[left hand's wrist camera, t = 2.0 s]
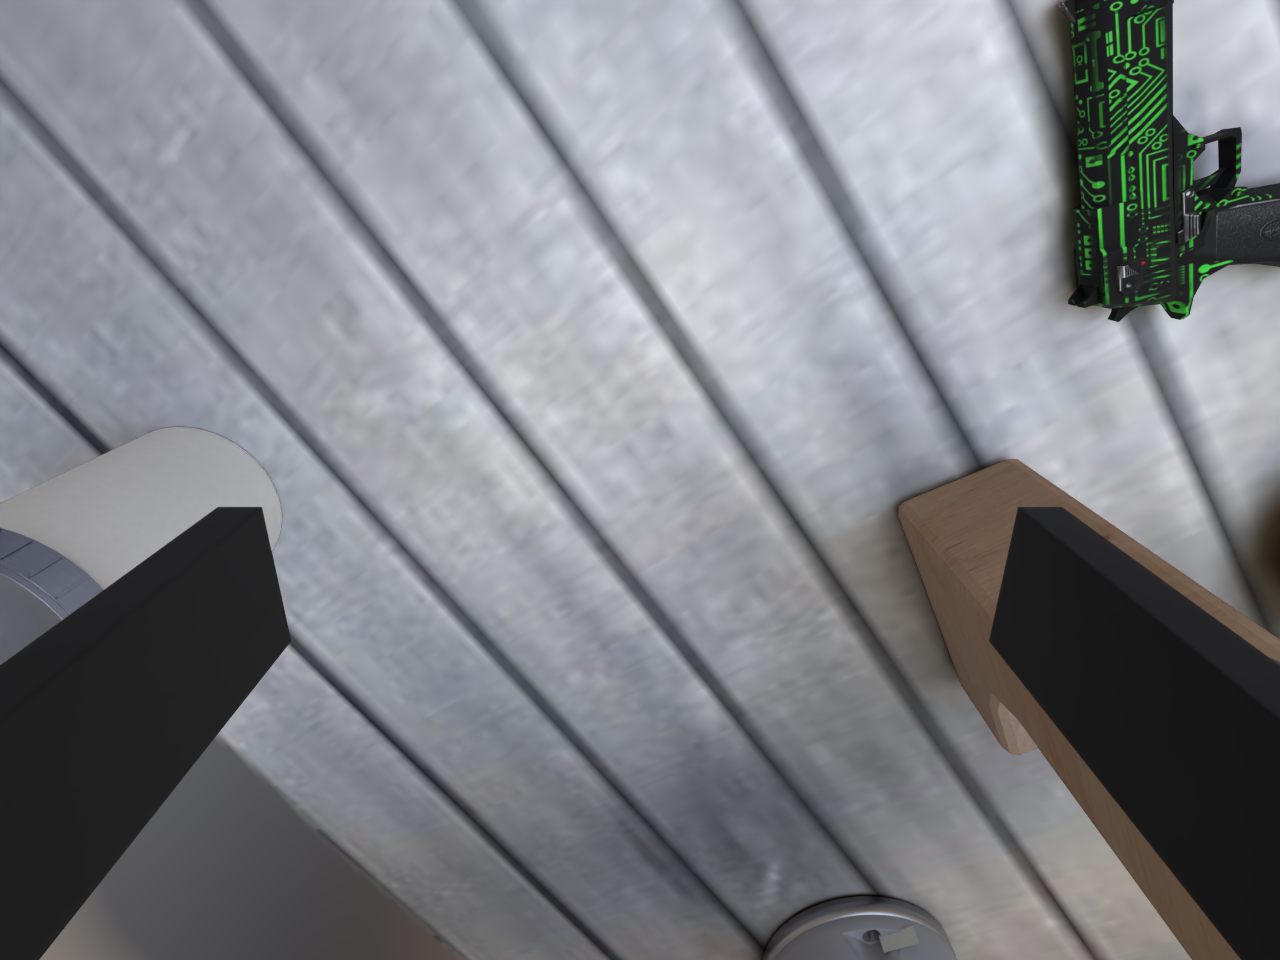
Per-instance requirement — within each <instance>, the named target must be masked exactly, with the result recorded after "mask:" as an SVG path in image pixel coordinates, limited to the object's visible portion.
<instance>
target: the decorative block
mask: <svg viewBox="0 0 1280 960" xmlns="http://www.w3.org/2000/svg"><path fill="white" fill-rule="evenodd" d="M1018 507H1063V508H1064V509H1066V510H1067V511H1068V512H1070V513H1071V514H1073V515H1074V516H1075V517H1077V518H1078V519H1079V520H1081V521H1082V522H1084V523H1085V524H1086V525H1088V526H1089V527H1090V528H1092V529H1093V530H1095V531H1096V532H1097V533H1099V534H1100V535H1101V536H1103V537H1104V538H1106V539H1107V540H1108V541H1110V542H1111V543H1112V544H1114V545H1115V546H1117V547H1118V548H1119V549H1121V550H1122V551H1123V552H1125V553H1126V554H1128V555H1129V556H1130V557H1132V558H1133V559H1134V560H1136V561H1137V562H1139V563H1140V564H1141V565H1143V566H1144V567H1145V568H1147V569H1148V570H1150V571H1151V572H1152V573H1154V574H1155V575H1156V576H1158V577H1159V578H1161V579H1162V580H1163V581H1165V582H1166V583H1167V584H1169V585H1170V586H1172V587H1173V588H1174V589H1176V590H1177V591H1178V592H1180V593H1181V594H1183V595H1184V596H1185V597H1187V598H1188V599H1189V600H1191V601H1192V602H1194V603H1195V604H1196V605H1198V606H1199V607H1200V608H1202V609H1203V610H1205V611H1206V612H1207V613H1209V614H1210V615H1211V616H1213V617H1214V618H1216V619H1217V620H1218V621H1220V622H1221V623H1222V624H1224V625H1225V626H1227V627H1228V628H1229V629H1231V630H1232V631H1233V632H1235V633H1236V634H1238V635H1239V636H1240V637H1242V638H1243V639H1244V640H1246V641H1247V642H1249V643H1250V644H1251V645H1253V646H1254V647H1255V648H1257V649H1258V650H1260V651H1261V652H1262V653H1264V654H1265V655H1266V656H1268V657H1269V658H1273V659H1275V660H1277V661H1279V662H1280V640H1279V639H1278V638H1276V637H1275V636H1273V635H1272V634H1271V633H1269V632H1268V631H1266V630H1265V629H1263V628H1262V627H1260V626H1259V625H1257V624H1256V623H1255V622H1253V621H1252V620H1250V619H1249V618H1247V617H1246V616H1244V615H1243V614H1241V613H1240V612H1239V611H1237V610H1236V609H1234V608H1233V607H1231V606H1230V605H1228V604H1227V603H1225V602H1224V601H1223V600H1221V599H1220V598H1218V597H1217V596H1215V595H1214V594H1212V593H1211V592H1209V591H1208V590H1207V589H1205V588H1204V587H1202V586H1201V585H1199V584H1198V583H1196V582H1195V581H1193V580H1192V579H1191V578H1189V577H1188V576H1186V575H1185V574H1183V573H1182V572H1180V571H1179V570H1177V569H1176V568H1175V567H1173V566H1172V565H1170V564H1169V563H1167V562H1166V561H1164V560H1163V559H1161V558H1160V557H1159V556H1157V555H1156V554H1154V553H1153V552H1151V551H1150V550H1148V549H1147V548H1145V547H1144V546H1143V545H1141V544H1140V543H1138V542H1137V541H1135V540H1134V539H1132V538H1131V537H1129V536H1128V535H1127V534H1125V533H1124V532H1122V531H1121V530H1119V529H1118V528H1116V527H1115V526H1113V525H1112V524H1111V523H1109V522H1108V521H1106V520H1105V519H1103V518H1102V517H1100V516H1099V515H1097V514H1096V513H1095V512H1093V511H1092V510H1090V509H1089V508H1087V507H1086V506H1084V505H1083V504H1081V503H1080V502H1079V501H1077V500H1076V499H1074V498H1073V497H1071V496H1070V495H1068V494H1067V493H1065V492H1064V491H1063V490H1061V489H1060V488H1058V487H1057V486H1055V485H1054V484H1052V483H1051V482H1049V481H1048V480H1047V479H1045V478H1044V477H1042V476H1041V475H1039V474H1038V473H1036V472H1035V471H1033V470H1032V469H1031V468H1029V467H1028V466H1026V465H1025V464H1023V463H1022V462H1020V461H1019V460H1016V459H1011V460H1004V461H1002V462H999V463H997V464H995V465H992V466H990V467H987V468H985V469H982V470H980V471H977V472H975V473H973V474H970V475H968V476H965V477H963V478H960V479H958V480H955V481H953V482H951V483H948V484H946V485H943V486H941V487H938V488H936V489H933V490H931V491H929V492H926V493H924V494H921V495H919V496H916V497H914V498H911V499H909V500H906V501H904V502H903V503H902V504H900V505H899V515H898V516H899V519H900V522H901V524H902V527H903V530H904V533H905V535H906V538H907V541H908V543H909V546H910V549H911V551H912V554H913V557H914V559H915V562H916V565H917V568H918V570H919V573H920V576H921V578H922V581H923V584H924V586H925V589H926V592H927V594H928V597H929V600H930V603H931V605H932V608H933V611H934V613H935V616H936V619H937V621H938V624H939V627H940V629H941V632H942V635H943V637H944V640H945V643H946V645H947V648H948V651H949V653H950V656H951V659H952V661H953V664H954V667H955V670H956V672H957V675H958V678H959V680H960V683H961V686H962V687H963V689H964V690H965V692H966V693H967V695H968V696H969V698H970V699H971V701H972V702H973V704H974V705H975V707H976V708H977V710H978V711H979V713H980V714H981V716H982V718H983V719H984V721H985V722H986V724H987V725H988V727H989V728H990V730H991V731H992V733H993V734H994V736H995V737H996V739H997V740H998V742H999V743H1000V745H1001V746H1002V748H1004V749H1005V750H1006V751H1008V752H1009V753H1010V754H1011V755H1020V754H1023V753H1026V752H1029V751H1032V750H1035V749H1038V748H1039V750H1040V751H1041V752H1042V754H1043V755H1044V756H1045V758H1046V759H1047V761H1048V762H1049V763H1050V765H1051V766H1052V767H1053V769H1054V770H1055V772H1056V773H1057V774H1058V776H1059V777H1060V779H1061V780H1062V781H1063V783H1064V784H1065V785H1066V787H1067V788H1068V790H1069V791H1070V792H1071V794H1072V795H1073V796H1074V798H1075V799H1076V801H1077V802H1078V803H1079V805H1080V806H1081V807H1082V809H1083V810H1084V812H1085V813H1086V814H1087V816H1088V817H1089V818H1090V820H1091V821H1092V823H1093V824H1094V825H1095V827H1096V828H1097V829H1098V831H1099V832H1100V834H1101V835H1102V836H1103V838H1104V839H1105V840H1106V842H1107V843H1108V845H1109V846H1110V847H1111V849H1112V850H1113V851H1114V853H1115V854H1116V856H1117V857H1118V858H1119V860H1120V861H1121V862H1122V864H1123V865H1124V867H1125V868H1126V869H1127V871H1128V872H1129V873H1130V875H1131V876H1132V878H1133V879H1134V880H1135V882H1136V883H1137V884H1138V886H1139V887H1140V889H1141V890H1142V891H1143V893H1144V894H1145V895H1146V897H1147V898H1148V900H1149V901H1150V902H1151V904H1152V905H1153V906H1154V908H1155V909H1156V911H1157V912H1158V913H1159V915H1160V916H1161V917H1162V919H1163V920H1164V922H1165V923H1166V924H1167V926H1168V927H1169V928H1170V930H1171V931H1172V933H1173V934H1174V935H1175V937H1176V938H1177V939H1178V941H1179V942H1180V944H1181V945H1182V946H1183V948H1184V949H1185V950H1186V952H1187V953H1188V955H1189V956H1190V957H1191V959H1192V960H1241V959H1240V958H1239V957H1238V955H1237V954H1236V953H1235V952H1234V950H1233V949H1232V948H1231V946H1230V945H1229V944H1228V943H1227V941H1226V940H1225V939H1224V938H1223V936H1222V935H1221V934H1220V933H1219V931H1218V930H1217V929H1216V928H1215V926H1214V925H1213V924H1212V922H1211V921H1210V920H1209V919H1208V917H1207V916H1206V915H1205V914H1204V912H1203V911H1202V910H1201V909H1200V907H1199V906H1198V905H1197V904H1196V902H1195V901H1194V900H1193V898H1192V897H1191V896H1190V895H1189V893H1188V892H1187V891H1186V890H1185V888H1184V887H1183V886H1182V885H1181V883H1180V882H1179V881H1178V879H1177V878H1176V877H1175V876H1174V874H1173V873H1172V872H1171V871H1170V869H1169V868H1168V867H1167V866H1166V864H1165V863H1164V862H1163V861H1162V859H1161V858H1160V857H1159V855H1158V854H1157V853H1156V852H1155V850H1154V849H1153V848H1152V847H1151V845H1150V844H1149V843H1148V842H1147V840H1146V839H1145V838H1144V837H1143V835H1142V834H1141V833H1140V831H1139V830H1138V829H1137V828H1136V826H1135V825H1134V824H1133V823H1132V821H1131V820H1130V819H1129V818H1128V816H1127V815H1126V814H1125V812H1124V811H1123V810H1122V809H1121V807H1120V806H1119V805H1118V804H1117V802H1116V801H1115V800H1114V799H1113V797H1112V796H1111V795H1110V794H1109V792H1108V791H1107V790H1106V788H1105V787H1104V786H1103V785H1102V783H1101V782H1100V781H1099V780H1098V778H1097V777H1096V776H1095V775H1094V773H1093V772H1092V771H1091V769H1090V768H1089V767H1088V766H1087V764H1086V763H1085V762H1084V761H1083V759H1082V758H1081V757H1080V756H1079V754H1078V753H1077V752H1076V751H1075V749H1074V748H1073V747H1072V745H1071V744H1070V743H1069V742H1068V740H1067V739H1066V738H1065V737H1064V735H1063V734H1062V733H1061V732H1060V730H1059V729H1058V728H1057V727H1056V725H1055V724H1054V723H1053V721H1052V720H1051V719H1050V718H1049V716H1048V715H1047V714H1046V713H1045V711H1044V710H1043V709H1042V708H1041V706H1040V705H1039V704H1038V702H1037V701H1036V700H1035V699H1034V697H1033V696H1032V695H1031V694H1030V692H1029V691H1028V690H1027V689H1026V687H1025V686H1024V685H1023V684H1022V682H1021V681H1020V680H1019V678H1018V677H1017V676H1016V675H1015V673H1014V672H1013V671H1012V670H1011V668H1010V667H1009V666H1008V665H1007V663H1006V662H1005V661H1004V660H1003V658H1002V657H1001V656H1000V654H999V653H998V652H997V651H996V649H995V648H994V647H993V646H992V644H991V643H990V642H989V638H990V634H991V629H992V625H993V620H994V615H995V611H996V606H997V601H998V597H999V592H1000V588H1001V583H1002V578H1003V574H1004V569H1005V565H1006V560H1007V555H1008V551H1009V546H1010V542H1011V537H1012V532H1013V528H1014V523H1015V518H1016V514H1017V509H1018Z"/></svg>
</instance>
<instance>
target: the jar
mask: <svg viewBox="0 0 1280 960" xmlns="http://www.w3.org/2000/svg"><path fill="white" fill-rule="evenodd" d="M217 507H262V509H263V514H264V518H265V523H266V528H267V532H268V537H269V542H270V546H271V551H272V550H273V549H274V547H275V545H276V543H277V541H278V538H279V535H280V531H281V526H282V512H281V505H280V501H279V497H278V494H277V492H276V489H275V487H274V485H273V483H272V481H271V479H270V478H269V476H268V475H267V473H266V472H265V471H264V469H263V468H262V467H261V466H260V464H259V463H258V462H257V461H256V460H255V459H254V458H253V457H252V456H251V455H250V454H248V453H247V452H246V451H245V450H243V449H242V448H241V447H239V446H238V445H237V444H235V443H233V442H231V441H230V440H228V439H226V438H224V437H222V436H219V435H217V434H215V433H212V432H208V431H205V430H201V429H196V428H189V427H169V428H163V429H158V430H155V431H152V432H149V433H147V434H145V435H143V436H141V437H139V438H137V439H135V440H132V441H130V442H128V443H126V444H124V445H122V446H120V447H118V448H116V449H113V450H111V451H109V452H107V453H105V454H103V455H101V456H99V457H97V458H94V459H92V460H90V461H88V462H86V463H84V464H82V465H80V466H78V467H76V468H73V469H71V470H69V471H67V472H65V473H63V474H61V475H59V476H57V477H54V478H52V479H50V480H48V481H46V482H44V483H42V484H40V485H38V486H35V487H33V488H31V489H29V490H27V491H25V492H23V493H21V494H19V495H16V496H14V497H12V498H10V499H8V500H6V501H4V502H2V503H0V528H3V529H6V530H9V531H13V532H16V533H19V534H21V535H24V536H26V537H29V538H31V539H34V540H36V541H38V542H40V543H42V544H44V545H46V546H48V547H50V548H52V549H54V550H55V551H57V552H58V553H60V554H61V555H63V556H65V557H66V558H68V559H69V560H71V561H72V562H73V563H75V564H76V565H77V566H78V567H80V568H81V569H82V570H84V571H85V572H86V573H87V574H88V575H89V576H90V577H91V578H92V579H94V580H95V581H96V582H97V583H98V584H99V585H100V586H101V587H102V589H103V590H104V589H106V588H107V587H108V586H110V585H111V584H113V583H114V582H115V581H117V580H118V579H119V578H121V577H122V576H124V575H125V574H126V573H128V572H129V571H130V570H132V569H133V568H135V567H136V566H137V565H139V564H140V563H141V562H143V561H144V560H146V559H147V558H148V557H150V556H151V555H152V554H154V553H155V552H157V551H158V550H159V549H161V548H162V547H163V546H165V545H166V544H168V543H169V542H170V541H172V540H173V539H174V538H176V537H177V536H179V535H180V534H181V533H183V532H184V531H185V530H187V529H188V528H190V527H191V526H192V525H194V524H195V523H196V522H198V521H199V520H201V519H202V518H203V517H205V516H206V515H207V514H209V513H210V512H212V511H213V510H214V509H216V508H217Z"/></svg>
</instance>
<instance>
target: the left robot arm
mask: <svg viewBox="0 0 1280 960" xmlns="http://www.w3.org/2000/svg"><path fill="white" fill-rule="evenodd" d="M290 642H291V638H290V634H289V629H288V625H287V620H286V615H285V611H284V606H283V602H282V597H281V592H280V588H279V583H278V578H277V574H276V569H275V565H274V560H273V555H272V551H271V546H270V542H269V537H268V532H267V528H266V523H265V518H264V514H263V509H262V507H217V508H216V509H214V510H213V511H212V512H210V513H209V514H207V515H206V516H205V517H203V518H202V519H201V520H199V521H198V522H196V523H195V524H194V525H192V526H191V527H190V528H188V529H187V530H185V531H184V532H183V533H181V534H180V535H179V536H177V537H176V538H174V539H173V540H172V541H170V542H169V543H168V544H166V545H165V546H163V547H162V548H161V549H159V550H158V551H157V552H155V553H154V554H152V555H151V556H150V557H148V558H147V559H146V560H144V561H143V562H141V563H140V564H139V565H137V566H136V567H135V568H133V569H132V570H130V571H129V572H128V573H126V574H125V575H124V576H122V577H121V578H119V579H118V580H117V581H115V582H114V583H113V584H111V585H110V586H108V587H107V588H106V589H104V590H103V591H102V592H100V593H99V594H97V595H96V596H95V597H93V598H92V599H91V600H89V601H88V602H86V603H85V604H84V605H82V606H81V607H80V608H78V609H77V610H75V611H74V612H73V613H71V614H70V615H69V616H67V617H66V618H64V619H63V620H62V621H60V622H59V623H58V624H56V625H55V626H53V627H52V628H51V629H49V630H48V631H47V632H45V633H44V634H42V635H41V636H40V637H38V638H37V639H36V640H34V641H33V642H31V643H30V644H29V645H27V646H26V647H25V648H23V649H22V650H20V651H19V652H18V653H16V654H15V655H14V656H12V657H11V658H9V659H8V660H7V661H5V662H4V663H3V664H1V665H0V960H39V959H40V958H41V957H42V955H43V954H44V953H45V952H46V950H47V949H48V948H49V946H50V945H51V944H52V943H53V941H54V940H55V939H56V938H57V936H58V935H59V934H60V933H61V931H62V930H63V929H64V927H65V926H66V925H67V924H68V922H69V921H70V920H71V919H72V917H73V916H74V915H75V914H76V912H77V911H78V910H79V909H80V907H81V906H82V905H83V903H84V902H85V901H86V900H87V898H88V897H89V896H90V895H91V893H92V892H93V891H94V890H95V888H96V887H97V886H98V885H99V883H100V882H101V881H102V879H103V878H104V877H105V876H106V874H107V873H108V872H109V871H110V869H111V868H112V867H113V866H114V864H115V863H116V862H117V860H118V859H119V858H120V857H121V855H122V854H123V853H124V852H125V850H126V849H127V848H128V847H129V845H130V844H131V843H132V841H133V840H134V839H135V838H136V837H137V835H138V834H139V833H140V831H141V830H142V829H143V828H144V826H145V825H146V824H147V823H148V821H149V820H150V819H151V817H152V816H153V815H154V814H155V812H156V811H157V810H158V809H159V807H160V806H161V805H162V804H163V802H164V801H165V800H166V799H167V797H168V796H169V795H170V793H171V792H172V791H173V790H174V788H175V787H176V786H177V785H178V783H179V782H180V781H181V780H182V778H183V777H184V776H185V775H186V773H187V772H188V771H189V769H190V768H191V767H192V766H193V764H194V763H195V762H196V761H197V759H198V758H199V757H200V756H201V754H202V753H203V752H204V750H205V749H206V748H207V747H208V745H209V744H210V743H211V742H212V740H213V739H214V738H215V737H216V735H217V734H218V733H219V732H220V730H221V729H222V728H223V727H224V725H225V724H226V723H227V721H228V720H229V719H230V718H231V716H232V715H233V714H234V713H235V711H236V710H237V709H238V708H239V706H240V705H241V704H242V702H243V701H244V700H245V699H246V697H247V696H248V695H249V694H250V692H251V691H252V690H253V689H254V687H255V686H256V685H257V684H258V682H259V681H260V680H261V678H262V677H263V676H264V675H265V673H266V672H267V671H268V670H269V668H270V667H271V666H272V665H273V663H274V662H275V661H276V660H277V658H278V657H279V656H280V654H281V653H282V652H283V651H284V649H285V648H286V647H287V646H288V644H289V643H290ZM989 642H990V643H991V644H992V646H993V647H994V648H995V649H996V651H997V652H998V653H999V654H1000V656H1001V657H1002V658H1003V660H1004V661H1005V662H1006V663H1007V665H1008V666H1009V667H1010V668H1011V670H1012V671H1013V672H1014V673H1015V675H1016V676H1017V677H1018V678H1019V680H1020V681H1021V682H1022V684H1023V685H1024V686H1025V687H1026V689H1027V690H1028V691H1029V692H1030V694H1031V695H1032V696H1033V697H1034V699H1035V700H1036V701H1037V702H1038V704H1039V705H1040V706H1041V708H1042V709H1043V710H1044V711H1045V713H1046V714H1047V715H1048V716H1049V718H1050V719H1051V720H1052V721H1053V723H1054V724H1055V725H1056V727H1057V728H1058V729H1059V730H1060V732H1061V733H1062V734H1063V735H1064V737H1065V738H1066V739H1067V740H1068V742H1069V743H1070V744H1071V745H1072V747H1073V748H1074V749H1075V751H1076V752H1077V753H1078V754H1079V756H1080V757H1081V758H1082V759H1083V761H1084V762H1085V763H1086V764H1087V766H1088V767H1089V768H1090V769H1091V771H1092V772H1093V773H1094V775H1095V776H1096V777H1097V778H1098V780H1099V781H1100V782H1101V783H1102V785H1103V786H1104V787H1105V788H1106V790H1107V791H1108V792H1109V794H1110V795H1111V796H1112V797H1113V799H1114V800H1115V801H1116V802H1117V804H1118V805H1119V806H1120V807H1121V809H1122V810H1123V811H1124V812H1125V814H1126V815H1127V816H1128V818H1129V819H1130V820H1131V821H1132V823H1133V824H1134V825H1135V826H1136V828H1137V829H1138V830H1139V831H1140V833H1141V834H1142V835H1143V837H1144V838H1145V839H1146V840H1147V842H1148V843H1149V844H1150V845H1151V847H1152V848H1153V849H1154V850H1155V852H1156V853H1157V854H1158V855H1159V857H1160V858H1161V859H1162V861H1163V862H1164V863H1165V864H1166V866H1167V867H1168V868H1169V869H1170V871H1171V872H1172V873H1173V874H1174V876H1175V877H1176V878H1177V879H1178V881H1179V882H1180V883H1181V885H1182V886H1183V887H1184V888H1185V890H1186V891H1187V892H1188V893H1189V895H1190V896H1191V897H1192V898H1193V900H1194V901H1195V902H1196V904H1197V905H1198V906H1199V907H1200V909H1201V910H1202V911H1203V912H1204V914H1205V915H1206V916H1207V917H1208V919H1209V920H1210V921H1211V922H1212V924H1213V925H1214V926H1215V928H1216V929H1217V930H1218V931H1219V933H1220V934H1221V935H1222V936H1223V938H1224V939H1225V940H1226V941H1227V943H1228V944H1229V945H1230V946H1231V948H1232V949H1233V950H1234V952H1235V953H1236V954H1237V955H1238V957H1239V958H1240V959H1241V960H1280V662H1279V661H1277V660H1275V659H1273V658H1269V657H1268V656H1266V655H1265V654H1264V653H1262V652H1261V651H1260V650H1258V649H1257V648H1255V647H1254V646H1253V645H1251V644H1250V643H1249V642H1247V641H1246V640H1244V639H1243V638H1242V637H1240V636H1239V635H1238V634H1236V633H1235V632H1233V631H1232V630H1231V629H1229V628H1228V627H1227V626H1225V625H1224V624H1222V623H1221V622H1220V621H1218V620H1217V619H1216V618H1214V617H1213V616H1211V615H1210V614H1209V613H1207V612H1206V611H1205V610H1203V609H1202V608H1200V607H1199V606H1198V605H1196V604H1195V603H1194V602H1192V601H1191V600H1189V599H1188V598H1187V597H1185V596H1184V595H1183V594H1181V593H1180V592H1178V591H1177V590H1176V589H1174V588H1173V587H1172V586H1170V585H1169V584H1167V583H1166V582H1165V581H1163V580H1162V579H1161V578H1159V577H1158V576H1156V575H1155V574H1154V573H1152V572H1151V571H1150V570H1148V569H1147V568H1145V567H1144V566H1143V565H1141V564H1140V563H1139V562H1137V561H1136V560H1134V559H1133V558H1132V557H1130V556H1129V555H1128V554H1126V553H1125V552H1123V551H1122V550H1121V549H1119V548H1118V547H1117V546H1115V545H1114V544H1112V543H1111V542H1110V541H1108V540H1107V539H1106V538H1104V537H1103V536H1101V535H1100V534H1099V533H1097V532H1096V531H1095V530H1093V529H1092V528H1090V527H1089V526H1088V525H1086V524H1085V523H1084V522H1082V521H1081V520H1079V519H1078V518H1077V517H1075V516H1074V515H1073V514H1071V513H1070V512H1068V511H1067V510H1066V509H1064V508H1063V507H1018V509H1017V514H1016V518H1015V523H1014V528H1013V532H1012V537H1011V542H1010V546H1009V551H1008V555H1007V560H1006V565H1005V569H1004V574H1003V578H1002V583H1001V588H1000V592H999V597H998V601H997V606H996V611H995V615H994V620H993V625H992V629H991V634H990V638H989Z"/></svg>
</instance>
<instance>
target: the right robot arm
mask: <svg viewBox="0 0 1280 960" xmlns="http://www.w3.org/2000/svg"><path fill="white" fill-rule="evenodd" d="M763 960H957V959H956V956H955V953H954V951H953V949H952V946H951V944H950V941H949V939H948V937H947V934H946V933H945V931H944V929H943V928H942V926H941V925H940V924H939V923H938V922H937V921H936V919H934V918H933V917H932V916H931V915H930V914H928V913H927V912H925V911H924V910H922V909H920V908H918V907H916V906H914V905H912V904H909V903H906V902H903V901H900V900H896V899H891V898H885V897H874V896H860V897H849V898H842V899H837V900H833V901H829V902H825V903H822V904H820V905H817V906H814V907H812V908H810V909H807V910H805V911H804V912H802V913H800V914H798V915H797V916H795V917H793V918H792V919H791V920H789V921H788V922H787V923H785V924H784V925H783V926H782V927H781V928H780V929H779V930H778V931H777V932H776V933H775V935H774V936H773V937H772V939H771V940H770V942H769V944H768V945H767V947H766V950H765V952H764V956H763Z"/></svg>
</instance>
